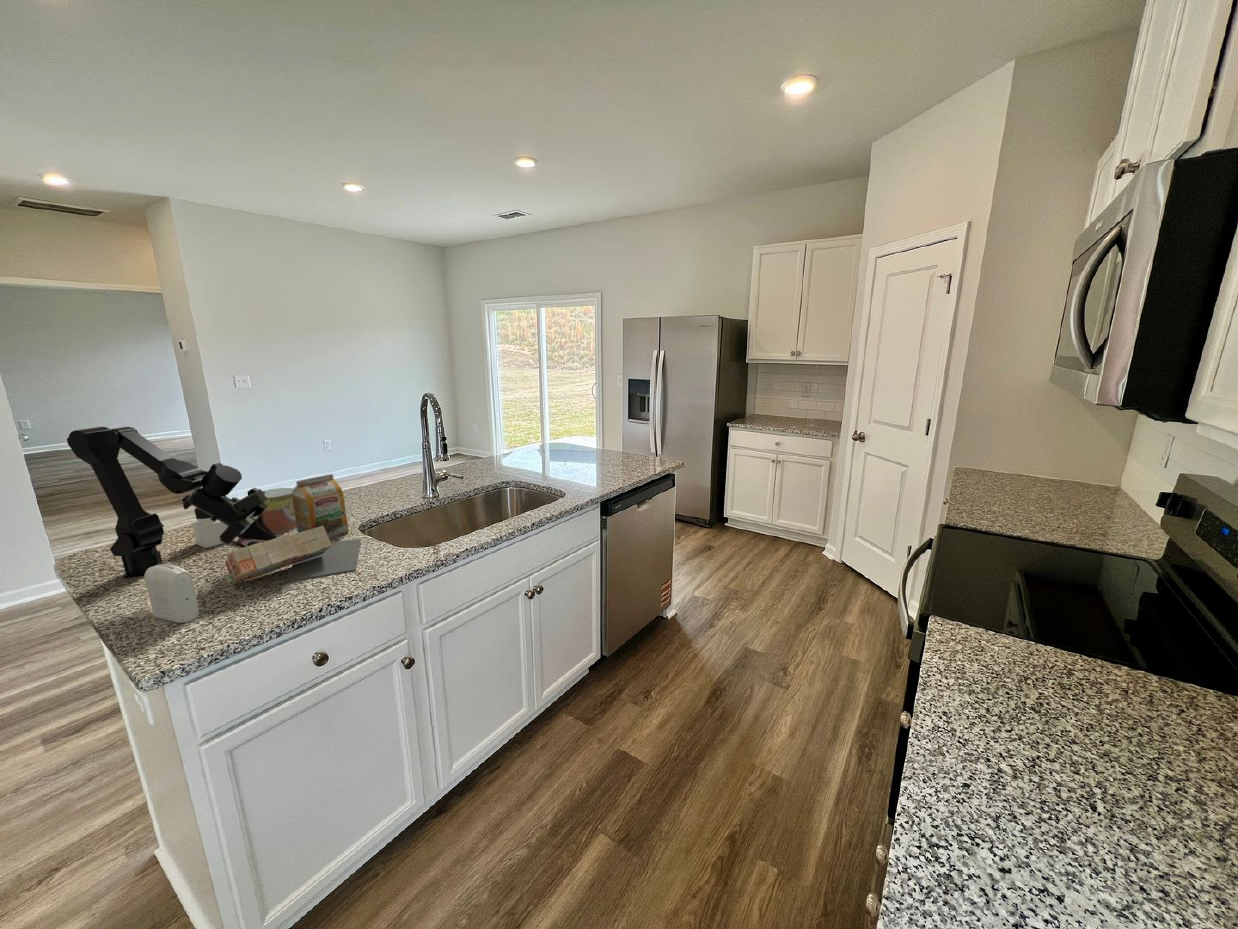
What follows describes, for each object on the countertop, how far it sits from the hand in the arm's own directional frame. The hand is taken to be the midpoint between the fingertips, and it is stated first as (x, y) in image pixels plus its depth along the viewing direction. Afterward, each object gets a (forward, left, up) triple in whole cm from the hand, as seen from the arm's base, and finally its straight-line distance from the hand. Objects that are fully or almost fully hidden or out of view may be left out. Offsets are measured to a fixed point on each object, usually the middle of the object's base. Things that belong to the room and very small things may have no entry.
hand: (275, 540), depth 133 cm
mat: (+11, 0, -8) cm, 14 cm away
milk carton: (+8, +22, -8) cm, 25 cm away
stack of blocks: (0, -1, -5) cm, 5 cm away
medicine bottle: (-22, +29, -8) cm, 37 cm away
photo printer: (-16, -21, -8) cm, 27 cm away
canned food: (-6, +36, -8) cm, 38 cm away
